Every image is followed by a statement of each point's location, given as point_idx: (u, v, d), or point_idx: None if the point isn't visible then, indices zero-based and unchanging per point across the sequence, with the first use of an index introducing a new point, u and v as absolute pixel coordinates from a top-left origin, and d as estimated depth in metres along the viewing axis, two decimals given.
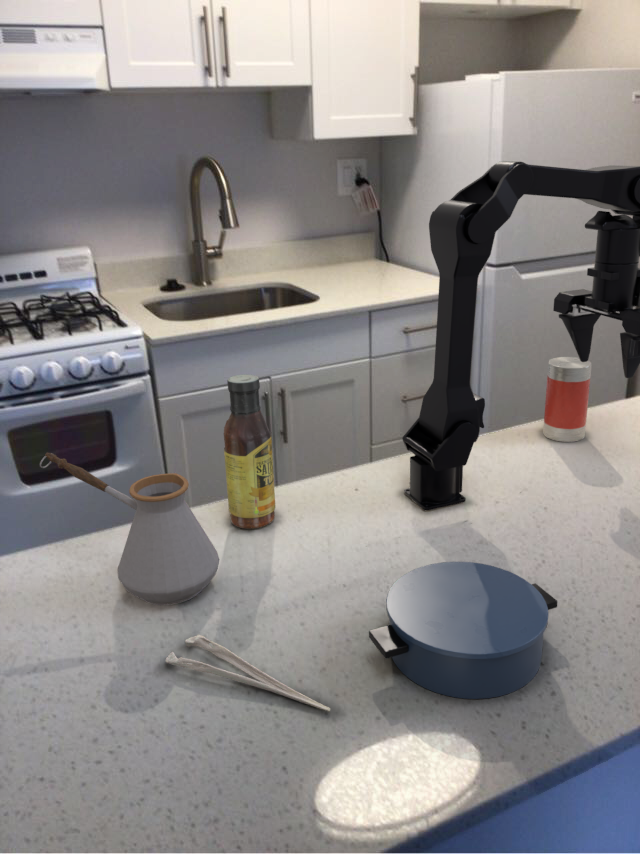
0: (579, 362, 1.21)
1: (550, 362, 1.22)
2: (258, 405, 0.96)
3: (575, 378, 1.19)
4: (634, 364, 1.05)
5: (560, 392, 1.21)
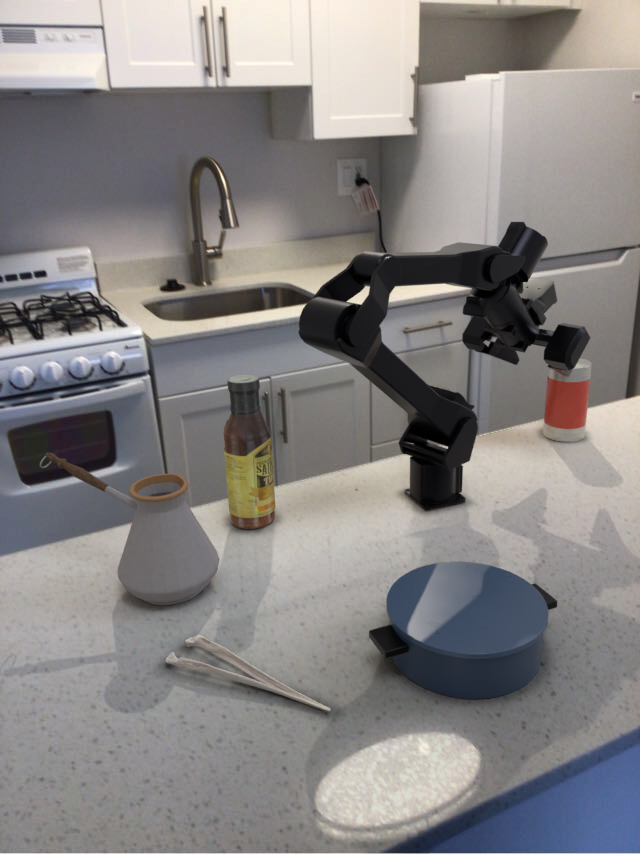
0: (579, 362, 1.21)
1: None
2: (258, 405, 0.96)
3: (575, 378, 1.19)
4: None
5: (560, 392, 1.21)
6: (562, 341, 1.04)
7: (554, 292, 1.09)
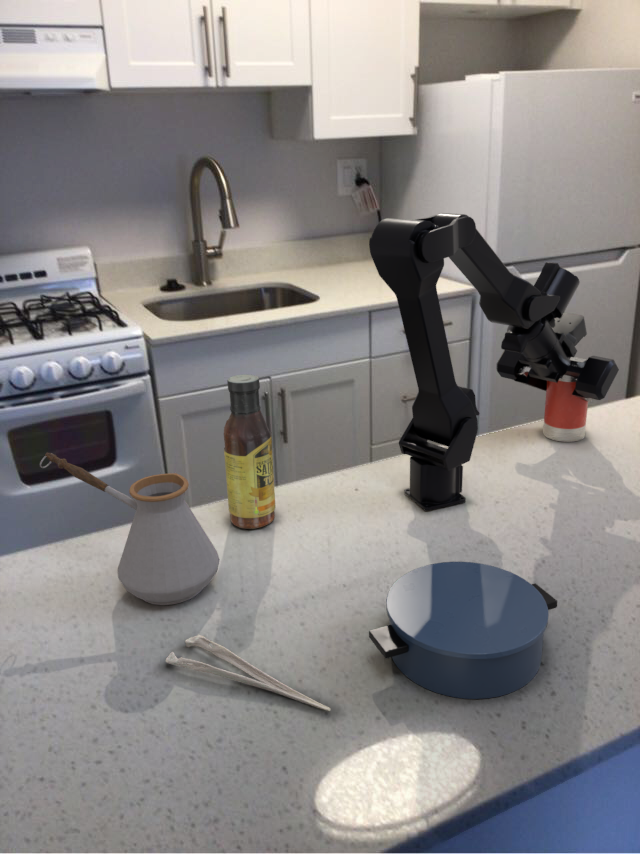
0: None
1: None
2: (258, 405, 0.96)
3: (575, 378, 1.19)
4: None
5: (560, 392, 1.21)
6: (593, 373, 1.12)
7: (584, 326, 1.17)
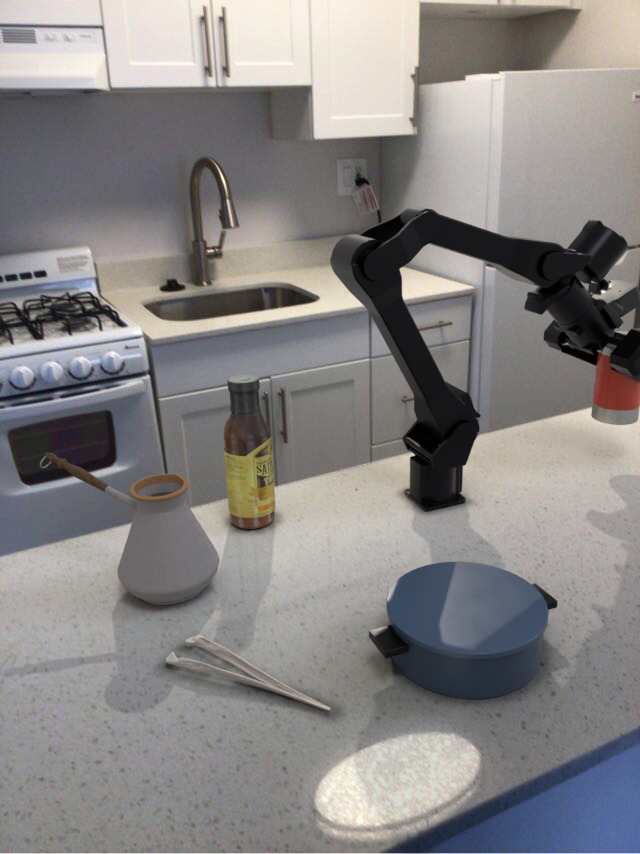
0: None
1: None
2: (258, 405, 0.96)
3: None
4: None
5: (606, 367, 1.09)
6: (629, 346, 1.01)
7: (637, 295, 1.05)
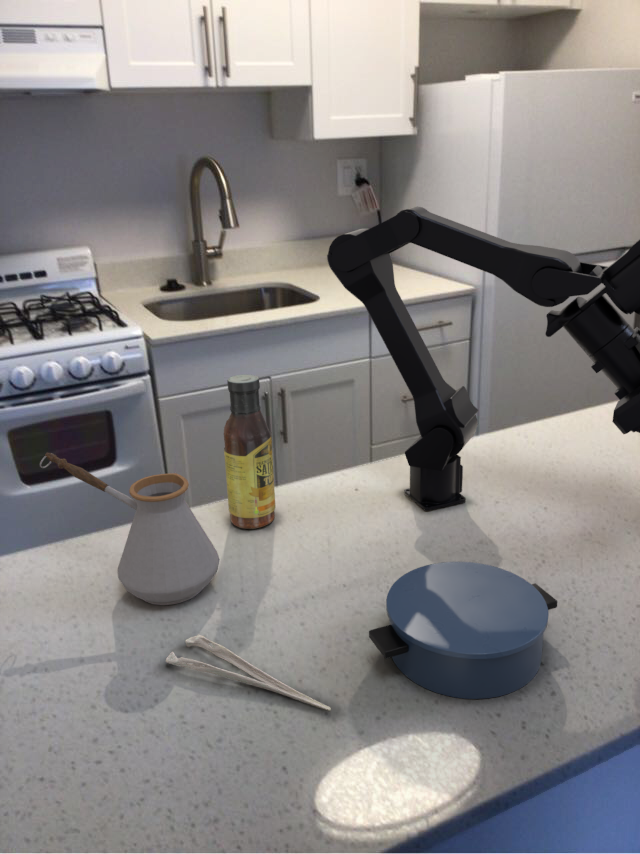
0: None
1: None
2: (258, 405, 0.96)
3: None
4: None
5: None
6: (629, 396, 0.82)
7: None
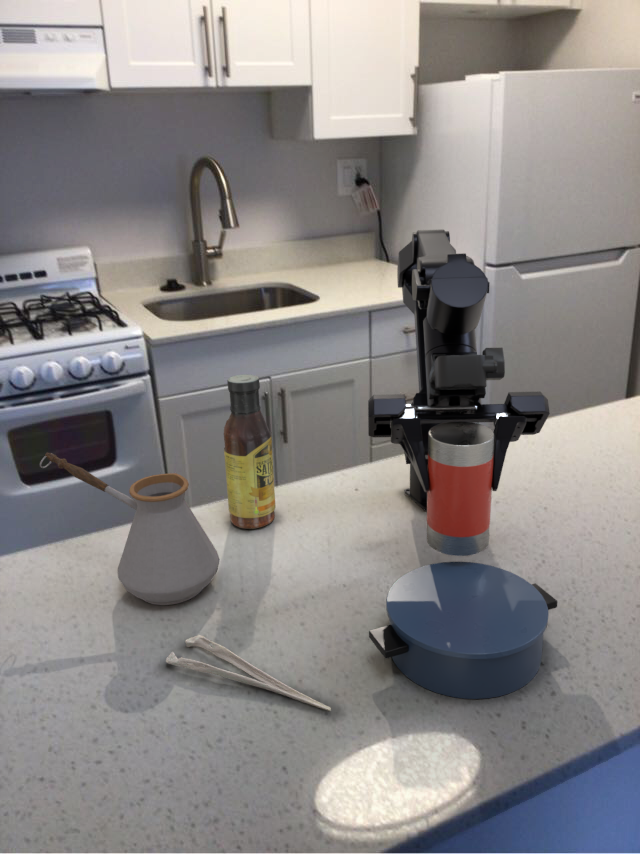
0: (450, 436, 0.76)
1: (480, 425, 0.79)
2: (258, 405, 0.96)
3: None
4: (418, 471, 0.79)
5: None
6: None
7: (437, 370, 0.76)
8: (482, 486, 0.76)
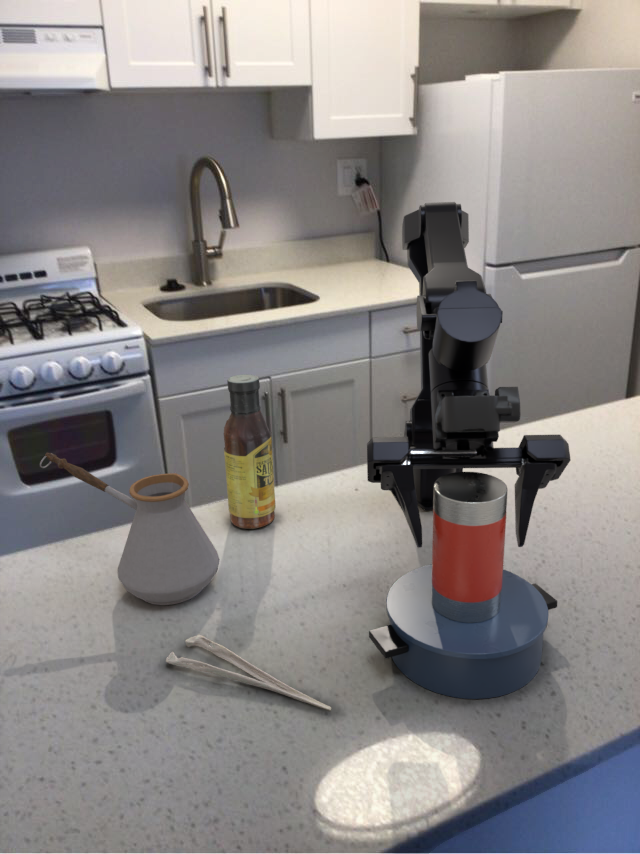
0: (458, 490, 0.68)
1: (491, 476, 0.71)
2: (258, 405, 0.96)
3: None
4: (410, 524, 0.71)
5: None
6: None
7: (444, 412, 0.67)
8: (493, 547, 0.68)
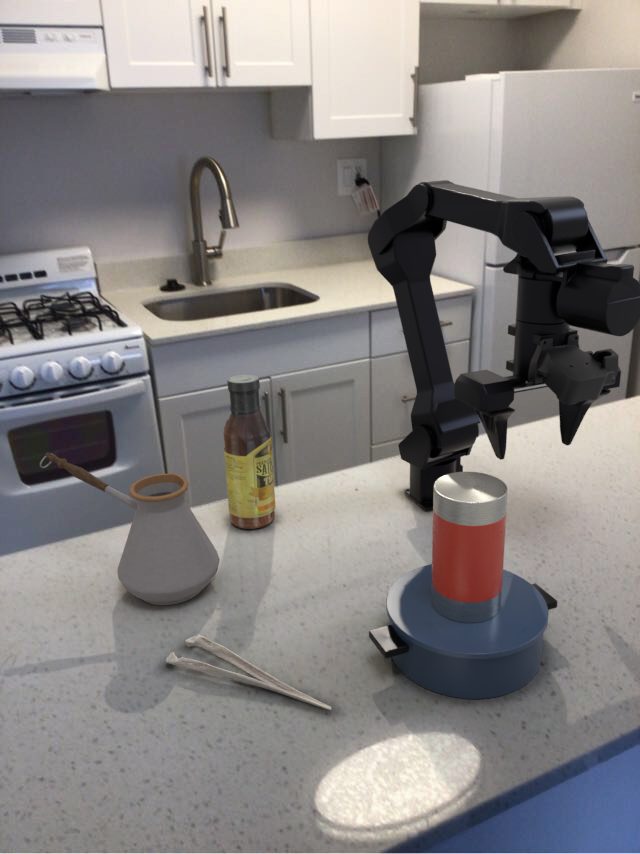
0: (458, 490, 0.68)
1: (491, 476, 0.71)
2: (258, 405, 0.96)
3: None
4: (494, 442, 0.85)
5: None
6: (481, 376, 0.82)
7: (564, 387, 0.77)
8: (493, 547, 0.68)
